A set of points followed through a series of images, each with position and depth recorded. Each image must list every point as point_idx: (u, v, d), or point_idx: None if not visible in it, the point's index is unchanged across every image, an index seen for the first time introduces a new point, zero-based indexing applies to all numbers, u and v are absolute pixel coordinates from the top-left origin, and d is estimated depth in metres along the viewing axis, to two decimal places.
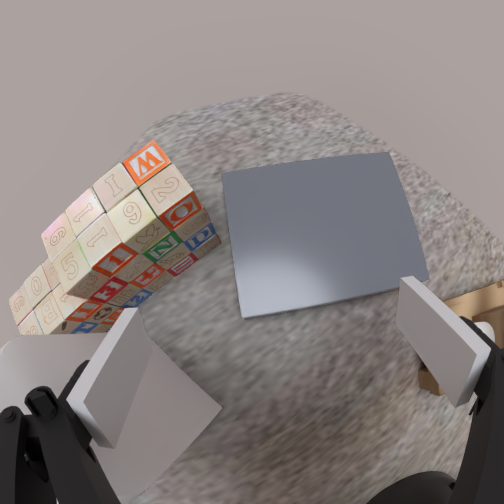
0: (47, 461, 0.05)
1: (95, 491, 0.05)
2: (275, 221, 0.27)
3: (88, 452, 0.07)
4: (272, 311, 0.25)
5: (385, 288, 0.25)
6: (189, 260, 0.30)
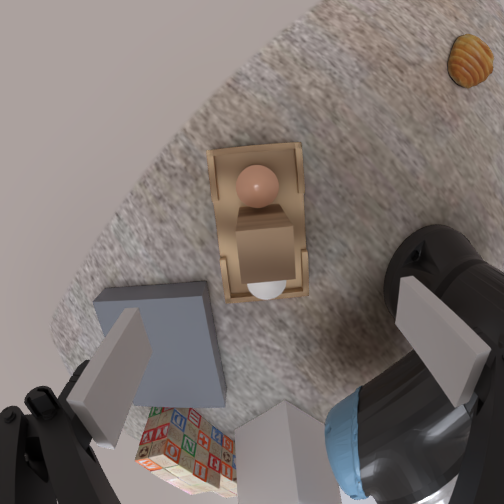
0: (47, 461, 0.05)
1: (95, 491, 0.05)
2: (163, 387, 0.37)
3: (88, 452, 0.07)
4: (221, 395, 0.37)
5: (208, 333, 0.34)
6: (191, 414, 0.42)
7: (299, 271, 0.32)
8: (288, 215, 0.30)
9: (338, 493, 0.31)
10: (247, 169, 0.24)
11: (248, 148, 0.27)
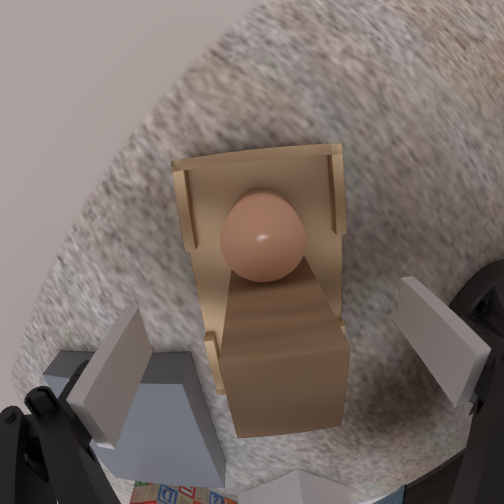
0: (47, 461, 0.05)
1: (95, 491, 0.05)
2: (145, 467, 0.24)
3: (88, 452, 0.07)
4: (219, 478, 0.25)
5: (195, 424, 0.21)
6: None
7: None
8: (316, 268, 0.18)
9: None
10: (244, 207, 0.12)
11: (246, 155, 0.15)
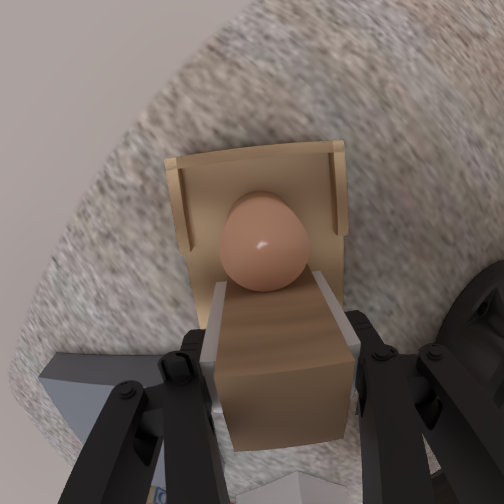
0: (166, 428, 0.07)
1: (213, 470, 0.06)
2: None
3: (208, 423, 0.09)
4: None
5: None
6: None
7: None
8: None
9: None
10: (246, 213, 0.11)
11: (244, 152, 0.14)
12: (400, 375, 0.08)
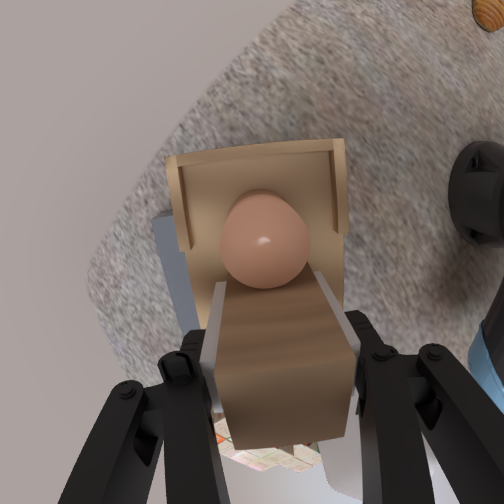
0: (166, 429, 0.07)
1: (213, 470, 0.06)
2: None
3: None
4: None
5: None
6: None
7: None
8: (316, 269, 0.17)
9: None
10: (247, 208, 0.11)
11: (244, 150, 0.14)
12: (400, 375, 0.08)
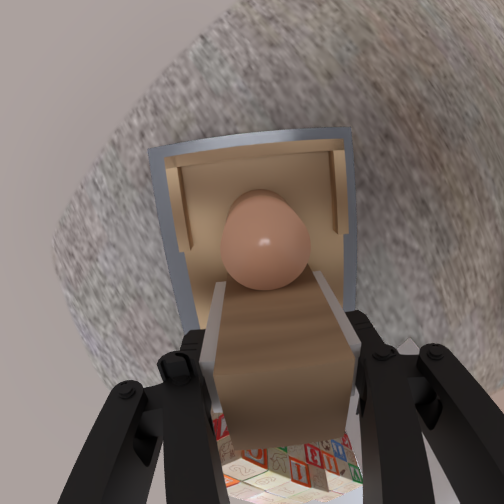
0: (166, 429, 0.07)
1: (213, 470, 0.06)
2: None
3: (208, 424, 0.09)
4: None
5: (354, 196, 0.20)
6: None
7: None
8: (316, 269, 0.17)
9: None
10: (249, 211, 0.11)
11: (243, 150, 0.14)
12: (400, 375, 0.08)
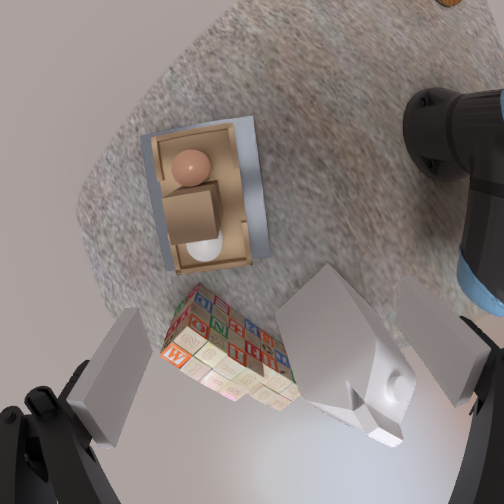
0: (47, 461, 0.05)
1: (95, 491, 0.05)
2: None
3: (88, 452, 0.07)
4: (267, 237, 0.38)
5: (257, 155, 0.35)
6: (217, 301, 0.44)
7: (242, 242, 0.34)
8: (227, 189, 0.33)
9: (405, 358, 0.33)
10: (182, 152, 0.27)
11: (186, 132, 0.29)
12: None
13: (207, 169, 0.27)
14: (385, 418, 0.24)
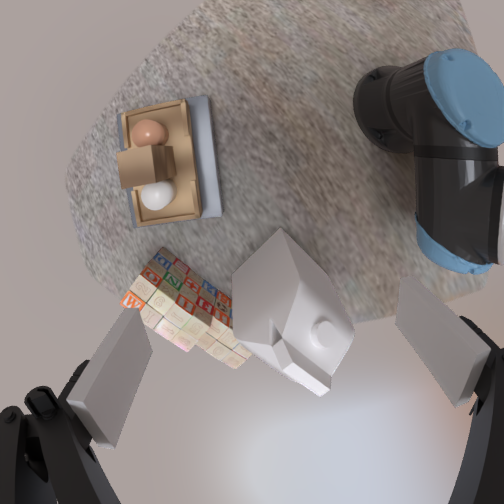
0: (47, 461, 0.05)
1: (95, 491, 0.05)
2: None
3: (88, 452, 0.07)
4: (219, 198, 0.43)
5: (209, 127, 0.39)
6: (178, 263, 0.49)
7: (192, 199, 0.39)
8: (180, 154, 0.37)
9: (346, 315, 0.37)
10: (139, 122, 0.31)
11: (148, 108, 0.34)
12: None
13: (158, 134, 0.32)
14: (309, 362, 0.28)
